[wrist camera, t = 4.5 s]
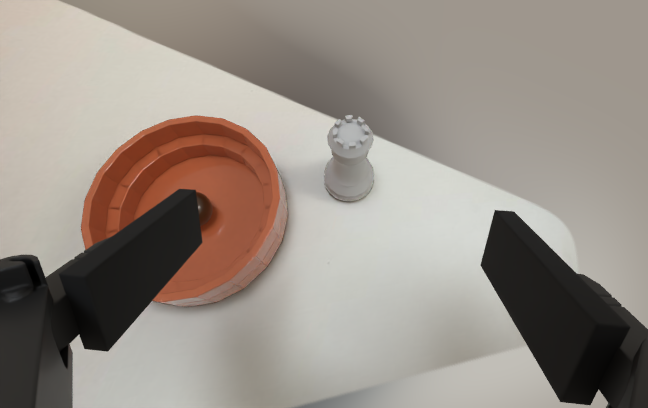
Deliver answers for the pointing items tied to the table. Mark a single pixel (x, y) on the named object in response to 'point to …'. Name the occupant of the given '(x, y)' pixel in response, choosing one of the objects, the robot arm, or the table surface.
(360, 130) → the rook chess piece
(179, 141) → the bowl
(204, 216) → the bead
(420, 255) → the table surface
